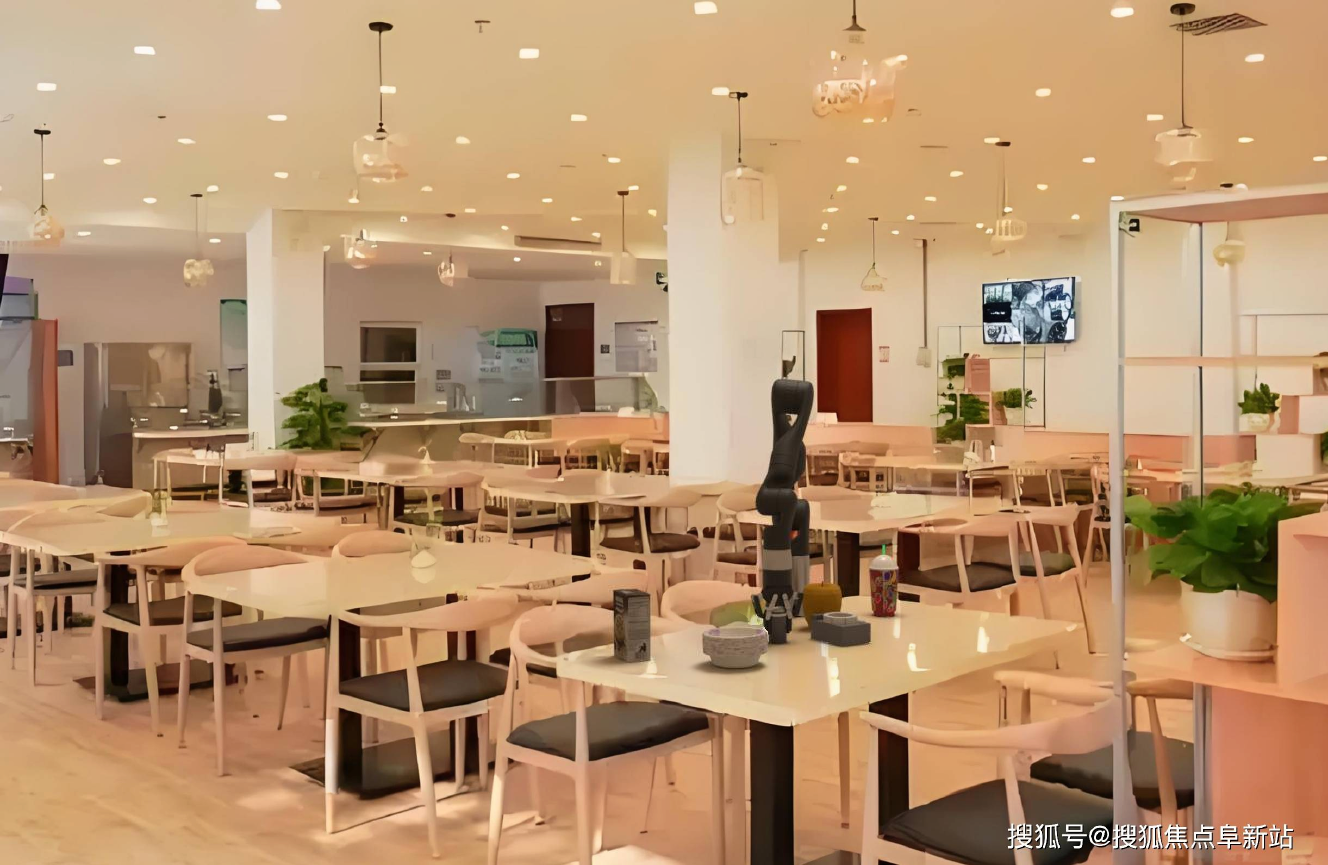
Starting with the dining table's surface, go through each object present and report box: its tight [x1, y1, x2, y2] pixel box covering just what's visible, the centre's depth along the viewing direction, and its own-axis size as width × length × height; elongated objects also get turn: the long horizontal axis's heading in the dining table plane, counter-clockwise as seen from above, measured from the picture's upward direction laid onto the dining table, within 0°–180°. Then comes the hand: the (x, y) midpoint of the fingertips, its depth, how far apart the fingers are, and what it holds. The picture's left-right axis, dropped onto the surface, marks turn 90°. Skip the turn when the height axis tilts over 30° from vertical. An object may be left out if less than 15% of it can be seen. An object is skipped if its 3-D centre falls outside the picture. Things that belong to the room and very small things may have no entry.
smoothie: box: [868, 544, 900, 617], centre depth 361 cm, size 8×8×20 cm
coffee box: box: [612, 588, 652, 663], centre depth 305 cm, size 9×6×16 cm
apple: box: [802, 580, 843, 629], centre depth 341 cm, size 11×11×13 cm
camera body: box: [810, 611, 872, 648], centre depth 324 cm, size 13×9×7 cm
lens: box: [768, 607, 788, 645], centre depth 322 cm, size 5×5×8 cm
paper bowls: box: [702, 626, 768, 669], centre depth 296 cm, size 15×15×8 cm
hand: (777, 633), depth 322 cm, fingers closed on lens, 4 cm apart
